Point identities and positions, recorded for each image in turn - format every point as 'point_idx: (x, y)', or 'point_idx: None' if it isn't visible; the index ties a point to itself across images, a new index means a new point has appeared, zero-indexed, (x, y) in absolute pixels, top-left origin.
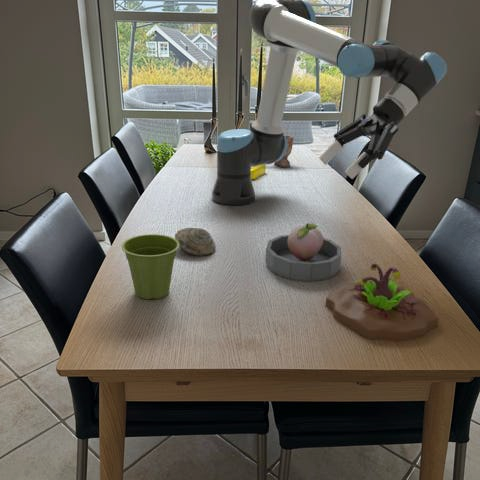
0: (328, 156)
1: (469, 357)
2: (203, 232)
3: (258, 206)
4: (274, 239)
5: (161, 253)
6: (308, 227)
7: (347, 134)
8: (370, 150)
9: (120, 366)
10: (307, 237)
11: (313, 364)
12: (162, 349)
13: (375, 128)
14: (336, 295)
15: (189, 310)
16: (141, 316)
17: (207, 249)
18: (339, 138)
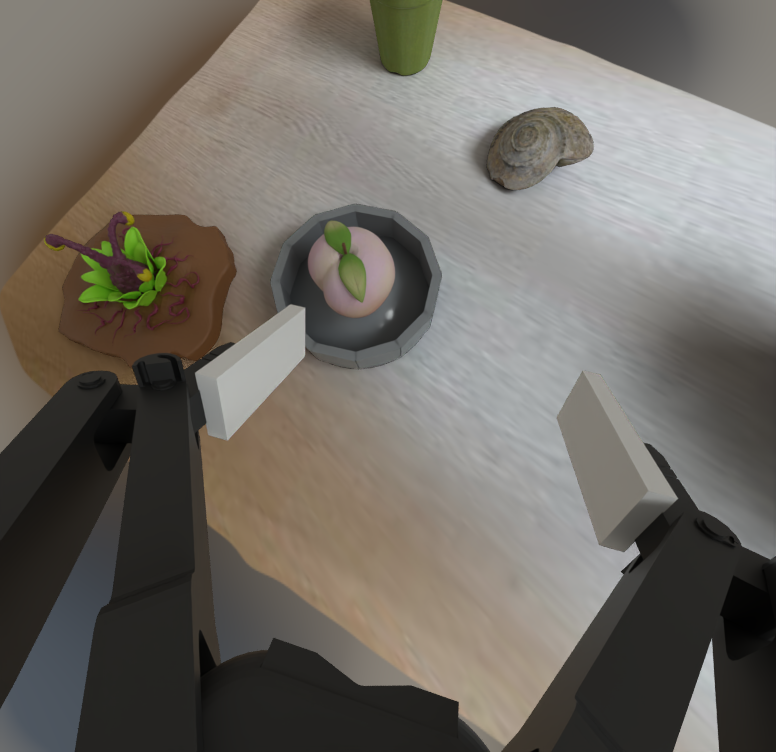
0: (579, 424)
1: (8, 308)
2: (524, 133)
3: (758, 438)
4: (428, 251)
5: (429, 10)
6: (345, 256)
7: (637, 584)
8: (140, 376)
9: None
10: (319, 239)
11: (140, 140)
12: (272, 28)
13: (91, 667)
14: (206, 240)
15: (330, 78)
16: (351, 30)
17: (493, 161)
18: (672, 526)
